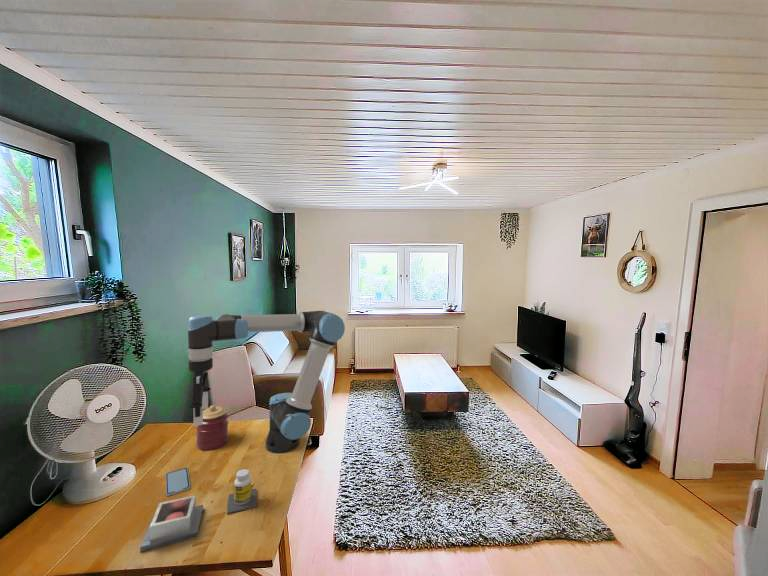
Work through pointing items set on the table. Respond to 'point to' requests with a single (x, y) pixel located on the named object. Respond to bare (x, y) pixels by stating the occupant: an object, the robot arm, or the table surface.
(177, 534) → the grey open box
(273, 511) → the table surface
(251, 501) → the gray square plate
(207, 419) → the canister
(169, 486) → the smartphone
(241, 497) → the supplement bottle
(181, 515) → the breaker button
